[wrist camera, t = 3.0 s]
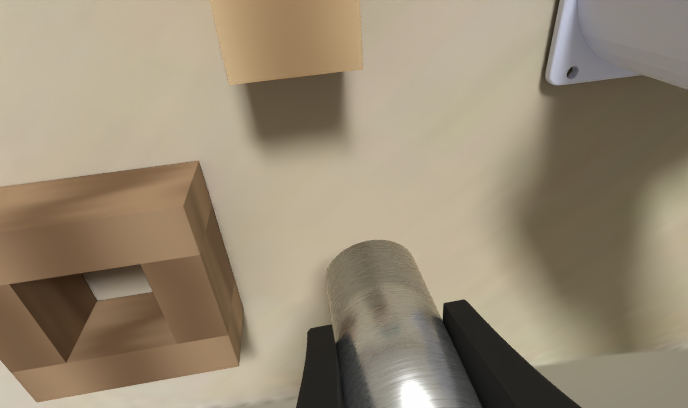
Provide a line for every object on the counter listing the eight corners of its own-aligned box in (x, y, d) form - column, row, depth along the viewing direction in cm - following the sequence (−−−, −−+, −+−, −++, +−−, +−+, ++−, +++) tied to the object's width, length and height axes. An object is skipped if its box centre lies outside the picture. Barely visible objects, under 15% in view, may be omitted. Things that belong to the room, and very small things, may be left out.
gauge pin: (417, 233, 13) (520, 433, 8) (414, 301, 15) (496, 504, 9) (320, 247, 13) (357, 466, 7) (329, 316, 15) (363, 533, 9)
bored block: (198, 160, 17) (183, 206, 14) (243, 308, 22) (239, 365, 19) (-29, 191, 16) (-98, 246, 13) (70, 337, 21) (36, 402, 18)
